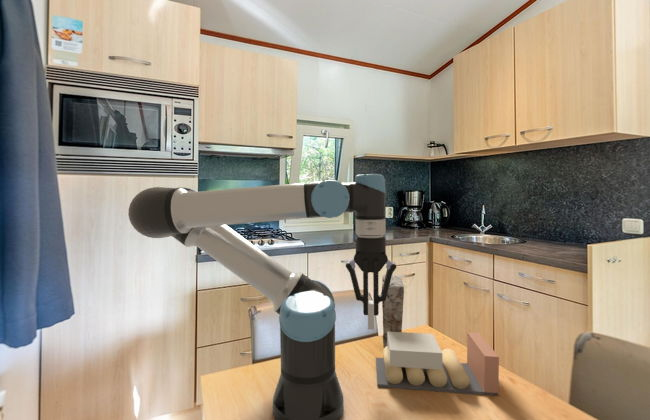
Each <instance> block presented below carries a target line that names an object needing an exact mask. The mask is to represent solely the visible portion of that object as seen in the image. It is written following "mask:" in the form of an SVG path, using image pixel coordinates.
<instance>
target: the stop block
mask: <svg viewBox="0 0 650 420" xmlns="http://www.w3.org/2000/svg"><path fill="white" fill-rule="evenodd" d="M466 342H467V344H466V345H467V346H466V363H467V364H468V366H469V368H470V369H471V371H472V373H473V374H474V376H475V378H476V379H477V381H478V383H479V384H480V386H481V388H482V389H483V391H484V392H490V393H491V394H492V395H491V396H494V395H493V393H497V394H498V395H497V396H499V380H500V379H499V377H500V376H499V373H500V371H499V369H500V357H499V355H498V354H497V352H495V350H494V349H493V348H492V346H491V345H490V344H489V343H488V342H487V341H486V339H485V338H484V337H483V335H482V334H481V333H480V332H467V337H466ZM484 396H489V395H488V394H487V395H485V393H484Z"/></svg>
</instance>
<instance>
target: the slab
mask: <svg viewBox="0 0 650 420" xmlns="http://www.w3.org/2000/svg"><path fill="white" fill-rule="evenodd" d="M387 348H388V356H389V363H390V366H393V367H408V368H423V369H438V370H442V349H441V347H440V344H439V343H438V341H437V339H436V337H435V335H434V333H426V332H425V333H424V332H422V333H421V332H406V331H405V332H387Z"/></svg>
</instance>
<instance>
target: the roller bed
mask: <svg viewBox="0 0 650 420" xmlns="http://www.w3.org/2000/svg"><path fill="white" fill-rule="evenodd" d="M441 351H442V370H438V369H423V368H408V367H393V366H390V363H389V356H388V348H387V346H386V347H385V348H384V347H383V352H382V353H383V357H375V367H376V368H375V369H376V384H377V385H376V386H377V387H379V388H391V389H392V388H394V389H405V390H417V391H418V390H419V391H430V392H432V391H433V392H444V393H445V392H446V393H457V394H458V393H459V394H469V395H470V394H471V395H472V394H473V395H474V394H475V395H484V393H485V395H484V396H497V395H498V396H499V393H498V394H497V393H493V395H492V394H491V393H490V392H484V391H483V389H482V388H481V386H480V384H479V383H478V381H477V379H476V378H475V376H474V374H473V373H472V371H471V369H470V368H469V366H468V364H467V362H461V361H460V359H459V357H458V356H457V353H456V352H455V351H454V350H453V349H451V348H444V349H441ZM487 394H488V395H487Z"/></svg>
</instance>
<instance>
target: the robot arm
mask: <svg viewBox="0 0 650 420" xmlns="http://www.w3.org/2000/svg"><path fill="white" fill-rule="evenodd" d="M386 194H387V192H386V179H385V177H384V175H382V174H379V173H367V174H365V173H363V174H357V175H355V177H354V182H353V181H352V182H341V181H339V180H336V179H335V178H334V179H329V178H328V179H324V180H321V181H319V180H318V181H310V182H298V183H297V182H296V183H287V184H286V183H283V184H275V185H274V184H273V185H263V186H262V185H260V186H249V187H248V186H247V187H238V188H237V187H236V188H226V189H225V188H224V189H213V190H202V191H198V190H195V189H192V188H187V187H163V186H162V187H161V186H157V187H155V186H154V187H150V188H146V189H144V190H142V191H140V192H138V193H137V194H136V195H135V196H134V197H133V198H132V200H131V202H130V203H129V207H128V212H127V213H128V220H129V222H130V224H131V226H132V227H133V229H134V230H136V232H137V233H139V234H141V235H142V236H145V237H146V238H151V239H162V238H168V237H173V238H174V239H175V240H176V241H178V242H179V243H180V244H181V245H183V246H185V247H187V248H190V247H197V248H199V249H200V250H201V251H202V252H204V253H205V254H207V255H208V256H210V257H211V258H212V259H214V260H215V261H216V262H218V263H219V264H220V265H222V266H223V267H225V269H227V270H229V271H230V272H231V273H233V274H234V275H235V276H237V277H238V278H239V279H240V280H243V281H244V282H245V283H246V284H248V285H249V286H250V287H252V288H253V289H254V290H256V291H258V292H259V293H260V294H261V295H263V296H264V297H266V298H267V299H268V300H270V301H271V302H272V304H273V312H275V313H277V314H278V315H279V316H278V322H279V326H280V327H279V332H280V334H279V335H280V337H279V338H280V345H279V346H280V374H279V378H278V381H277V385H276V388H275V390H274V393H273V398H272V413H273V414H272V415H273V418H274V419H275V420H340V419H341V418H342V416H343V414H344V408H345V407H344V402H345V401H344V400H345V399H344V393H343V390H342V388H341V385H340V382H339V381H340V380H339V378H338V376H337V372H336V321H337V320H336V319H337V312H336V303H335V298H334V296H333V294H332V292H331V289H330V288H329V287H328V286H327V285H326V284H325V283H324V282H322V281H319V280H316V279H311V278H310V277H308V276H307V275H305V274H304V273H302V272H296V273H294V272H291V271H290V270H289V269H287V267H284V266H283V265H282V264H280V263H279V262H277V261H276V260H275V259H274V258H272V257H271V256H269V255H268V254H267V253H265V252H264V251H263V250H261V249H260V248H258V247H257V246H256V245H255V244H253V243H252V242H250V241H249V240H247V238H245V237H244V236H243V235H241V234H240V233H238V232H237V231H235V230H234V229H233V228H231V227H230V225H240V224H251V223H252V224H254V223H264V222H265V223H266V222H276V221H278V222H279V221H289V220H299V219H300V220H301V219H315V218H326V219H327V218H328V219H332V218H337V217H340V216H341V215H343V214H345V213H354V214H355V234H356V237H355V254H354V256H353V259H352V260H350V261H346V263H345V268H346V270H347V271H348V272H349V276H350V280H351V284H352V288H353V292H354V296H355V299H356V301H359V302H362V305H363V316H367V330H373V331H374V330H375V316H379V314H380V313H379V305H380V303H382V301H385V300H386V297H387V293H388V289H389V285H390V281H391V277H392V276H393V273H394V272H395V270H396V269H397V264H396V263H395V262H394V261H391V260H389V258H388V256H387V250H386V248H387V246H386V245H387V244H386V243H387V242H386V240H387V239H386V237H385V235H386V203H387V202H386V199H387V198H386V196H387V195H386ZM228 225H229V226H228ZM356 265H357V267H358V268H359V270H360V271H361V272H362V275H363V277H362V288H363V289H362V290H363V291H362V292H363V294H362V293H361V290H360V285H359V281H358V278H357V274H356V270H355V269H356ZM384 266H385V268H386V271H385V274H384V275H385V279H384V283H383V287H382V286H381V292H380V294H379V272H380V271H382V269H383V268H384ZM369 273H372V275H373V277H372V280H373V283H372V284H373V285H372V286H373V287H372V288H373V289H372V290H373V300H372V299H370V300H369Z"/></svg>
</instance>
